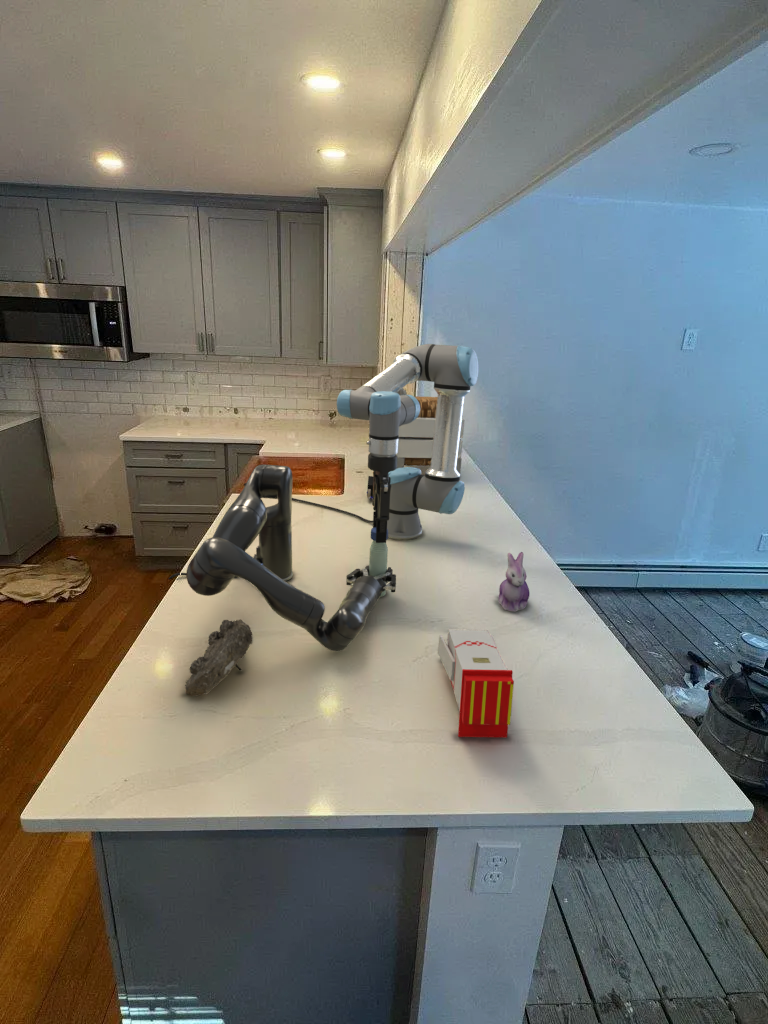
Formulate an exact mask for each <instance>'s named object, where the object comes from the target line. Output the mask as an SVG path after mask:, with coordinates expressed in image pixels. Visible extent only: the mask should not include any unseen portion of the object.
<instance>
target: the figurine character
mask: <svg viewBox="0 0 768 1024" xmlns="http://www.w3.org/2000/svg"><path fill="white" fill-rule="evenodd" d="M367 477H368V478H367V489H366V497H367V498H369V501H370V502H373V480H374V479H373V475H368V476H367Z"/></svg>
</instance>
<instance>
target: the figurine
mask: <svg viewBox="0 0 768 1024" xmlns="http://www.w3.org/2000/svg"><path fill="white" fill-rule="evenodd" d="M506 556H507V569H506V571H505V579H504V580H502V581H501V583H500V585H499V591H498V592H499V593H498V597H497V598H498V600H497V601H498V604H499V605H500V606H501V607H502V609H503V610H505V611H507V612H508V611H509V612H518V611H520V610H521V611H522V610H524V609H525V608H526V607H527V605H528V601H529V599H530V588H529V585H528V584H527V581H526V580H527V571H526V570H525V567H524V552H523V551H520V552H519V553H518V555H517V557H516V559H515V557H514V556H513V554H512V553H511V552H508V553H507V555H506Z"/></svg>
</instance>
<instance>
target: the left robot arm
mask: <svg viewBox="0 0 768 1024" xmlns="http://www.w3.org/2000/svg"><path fill="white" fill-rule="evenodd" d="M293 479H294V478H293V471H292V469H291V467H290V466H289V465H288V466H286V465H277V464H259V465H257V466H255V467H254V468H253V469H252V471H251V473H250V475H249V477H248V479H247V480H246V482H245V483H246V485H245V486H244V487H243V488H242V489H241V491H240V493H239V494H238V496H237V497H236V499H235V500H234V501H233V502H232V503H231V505H230V506H229V507H228V509H227V511H225V514H224V515H223V517H222V518H221V520H220V522H219V523H218V525H217V528H216V529H215V530H214V531H215V532H214V533H213V535H212V537H209V538H207V539H206V540H204V541H203V542H202V544H201V545H200V547H199V548H198V549H197V551H196V553H195V554H194V556H193V557H192V558H191V560H190V562H189V563H188V565H187V569H186V572H175V573H174V574H171V575H170V576H169V577H168V580H173V579H174V578H175V577H177V576H186V581H187V584H188V586H189V587H190V588H191V589H192V591H193V592H195V593H196V594H198V595H200V596H204V597H205V596H207V597H211V596H215V595H218V594H220V593H221V592H223V591H224V590H226V588H227V587H228V586H229V585H230V583H231V582H232V581H233V579H237V578H241V579H243V580H245V581H246V582H248V583H250V584H251V585H252V586H254V587H255V588H256V589H257V590H258V592H259V593H260V594H261V595H262V597H263V598H264V599H265V601H266V603H267V604H268V606H269V607H270V608H271V609H272V610H273V612H275V613H276V614H277V615H278V616H279V617H280V618H283V619H284V620H286V621H288V622H290V623H292V624H294V625H297V626H299V627H300V628H302V629H303V630H305V631H306V632H307V633H308V634H309V635H311V637H313V638H314V639H315V641H317V642H318V643H320V645H322V647H324V648H325V649H327V650H329V651H331V652H341V651H342V652H343V651H344V650H346V649H347V647H348V646H349V645H350V644H351V643H352V642H353V641H354V640H355V638H357V637H358V636H359V634H360V633H361V632H362V631H363V629H364V627H365V625H366V621H367V618H368V616H369V614H370V612H372V610H373V609H374V607H375V606H376V604H377V603H378V600H379V599H380V598H381V597H380V595H381V593H382V592H383V591H385V590H386V591H388V590H389V591H390V592H391V593H392V594H393V593H396V592H397V591H396V588H397V586H396V585H397V574H395V573H393V572H394V570H393V568H392V567H391V566H387V571H386V573H385V574H380V575H378V576H371V575H369V564H367V565H366V566H365V567H364V568H362V569H360V568H356V569H354V570H353V571H351V572H349V574H346V586H350V588H349V589H348V590H347V593H346V595H345V597H344V598H343V600H342V601H341V602H340V604H339V606H338V608H337V610H336V612H335V613H334V614H333V615H332V616H331V617H330V618H329V620H328V621H325V620H324V619H323V617H324V614H325V610H326V606H325V603H324V602H323V601H322V600H320V599H318V598H316V597H314V596H312V595H311V594H308V593H306V592H305V591H304V590H301V589H299V588H298V587H295V586H294V585H292V584H290V583H289V582H288V581H290V580H291V579H292V578H293V575H294V574H293V536H292V535H293V534H292V533H293V529H292V528H293V527H292V525H293V523H292V512H293V500H292V498H293V481H294V480H293ZM262 499H270V500H277V503H276V504H273V505H270V506H269V505H268V506H266V505H265V503H264V501H263V500H262ZM256 538H258V546H256V548H255V553H254V555H253V556H252V555H251V554H249V553H248V552H246V551H247V550H248V549H249V547H250V546H251V545H252V544H253V543H254V541H255V539H256ZM180 573H181V575H180Z"/></svg>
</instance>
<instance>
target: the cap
mask: <svg viewBox="0 0 768 1024" xmlns="http://www.w3.org/2000/svg"><path fill="white" fill-rule="evenodd" d="M370 539H371V540H372V541H373V540H374V541H376V527H374V528H373V527H372V528H371V529H370ZM388 539H389V538H388V529H387V537H386V541H387V540H388Z"/></svg>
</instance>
